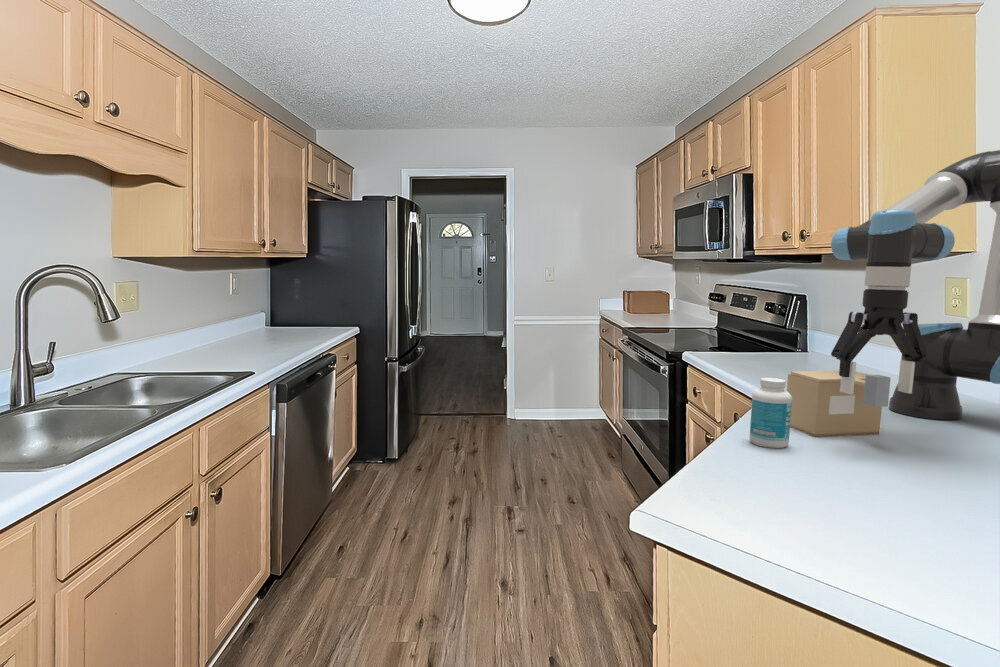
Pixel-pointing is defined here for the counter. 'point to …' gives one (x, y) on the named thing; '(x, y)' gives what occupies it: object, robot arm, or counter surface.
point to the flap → (874, 384)
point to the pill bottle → (771, 414)
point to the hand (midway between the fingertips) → (875, 392)
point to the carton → (830, 409)
